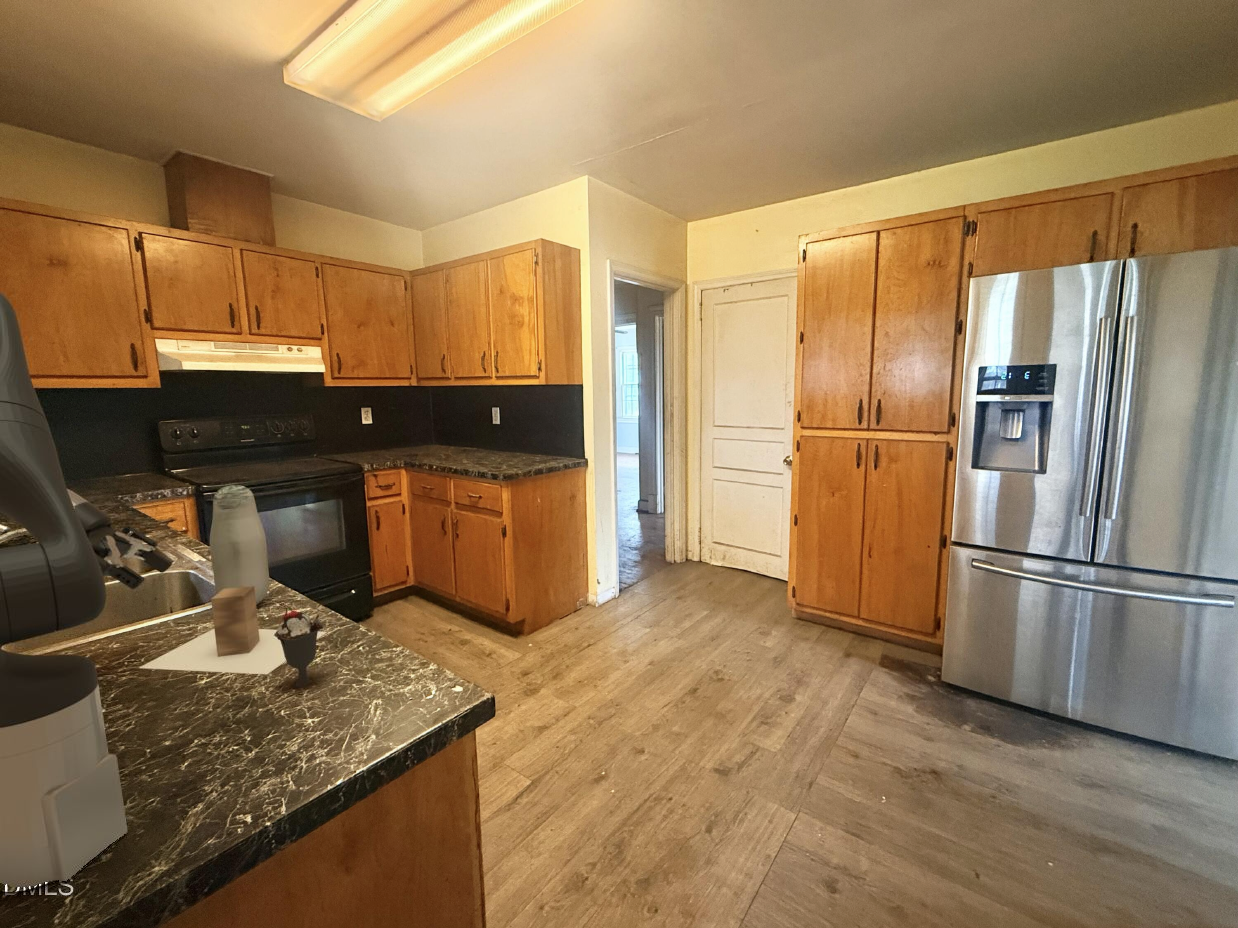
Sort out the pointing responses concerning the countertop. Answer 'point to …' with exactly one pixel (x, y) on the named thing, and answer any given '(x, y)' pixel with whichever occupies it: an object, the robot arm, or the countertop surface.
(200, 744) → the countertop surface
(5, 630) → the robot arm
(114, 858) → the countertop surface
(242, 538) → the glass bottle
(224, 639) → the walnut block
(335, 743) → the countertop surface
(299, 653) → the sundae
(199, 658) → the cream sheet of paper
